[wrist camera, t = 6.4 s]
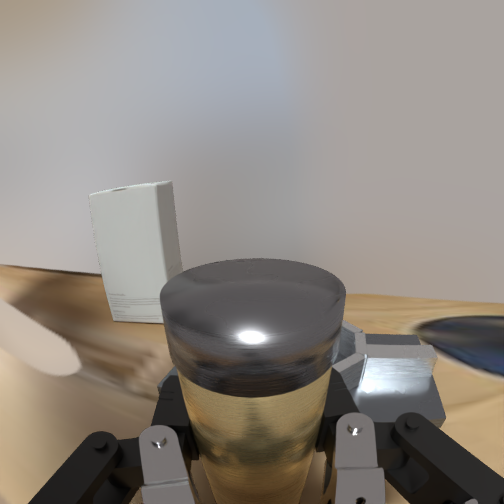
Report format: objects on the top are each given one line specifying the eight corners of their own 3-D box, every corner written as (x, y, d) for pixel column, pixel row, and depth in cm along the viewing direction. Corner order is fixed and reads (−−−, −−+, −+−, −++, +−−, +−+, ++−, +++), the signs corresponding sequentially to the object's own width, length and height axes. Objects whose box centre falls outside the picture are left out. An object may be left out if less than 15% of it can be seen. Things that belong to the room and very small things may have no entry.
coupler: (200, 514, 9) (120, 312, 5) (229, 454, 13) (207, 254, 10) (292, 534, 7) (348, 346, 4) (309, 467, 12) (343, 262, 8)
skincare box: (188, 303, 34) (178, 180, 30) (175, 327, 28) (159, 181, 24) (128, 301, 34) (114, 186, 30) (108, 322, 28) (87, 190, 24)
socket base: (159, 395, 18) (149, 359, 17) (216, 327, 28) (213, 296, 27) (440, 427, 12) (460, 390, 11) (414, 343, 22) (422, 311, 21)
